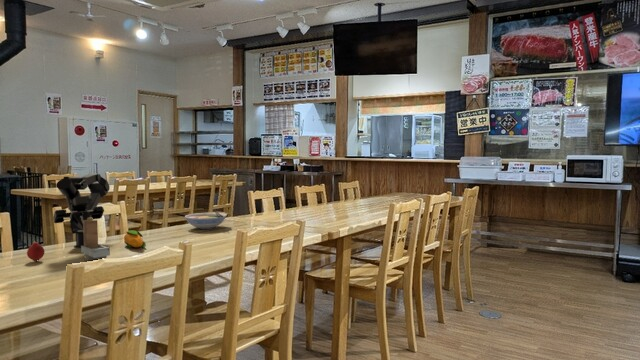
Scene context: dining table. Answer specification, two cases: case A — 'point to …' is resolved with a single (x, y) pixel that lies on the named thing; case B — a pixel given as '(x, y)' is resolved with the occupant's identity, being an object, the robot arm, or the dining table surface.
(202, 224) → the ramen bowl
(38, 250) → the red oval piece
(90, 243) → the brown rectangular block
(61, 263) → the dining table surface
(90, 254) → the grey piece
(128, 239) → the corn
